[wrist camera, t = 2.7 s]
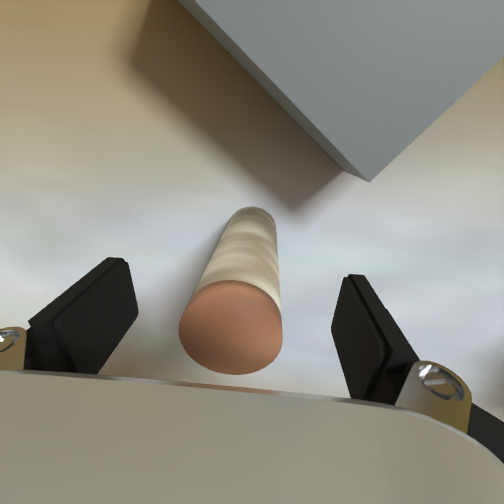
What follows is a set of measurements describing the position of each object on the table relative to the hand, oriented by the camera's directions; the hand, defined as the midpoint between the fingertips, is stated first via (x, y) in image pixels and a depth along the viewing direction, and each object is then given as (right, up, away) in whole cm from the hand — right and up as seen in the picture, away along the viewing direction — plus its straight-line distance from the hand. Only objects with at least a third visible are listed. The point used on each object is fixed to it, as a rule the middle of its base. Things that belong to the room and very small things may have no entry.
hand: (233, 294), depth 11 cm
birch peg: (+1, +4, +9) cm, 10 cm away
